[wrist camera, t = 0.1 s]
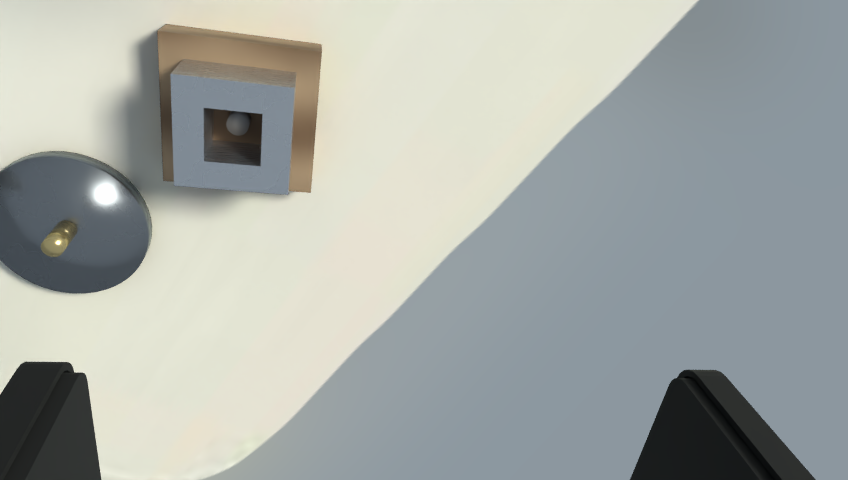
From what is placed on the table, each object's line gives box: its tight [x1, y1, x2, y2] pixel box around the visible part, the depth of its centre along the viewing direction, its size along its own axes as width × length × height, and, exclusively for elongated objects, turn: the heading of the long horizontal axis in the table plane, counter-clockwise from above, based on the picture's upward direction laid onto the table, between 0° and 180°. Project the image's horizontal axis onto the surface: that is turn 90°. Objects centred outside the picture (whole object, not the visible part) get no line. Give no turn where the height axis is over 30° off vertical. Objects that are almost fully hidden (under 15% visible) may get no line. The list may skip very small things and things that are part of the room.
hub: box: [0, 151, 152, 293], centre depth 44 cm, size 11×11×4 cm
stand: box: [157, 24, 322, 193], centre depth 42 cm, size 10×10×4 cm
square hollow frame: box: [170, 59, 297, 195], centre depth 39 cm, size 7×7×4 cm
